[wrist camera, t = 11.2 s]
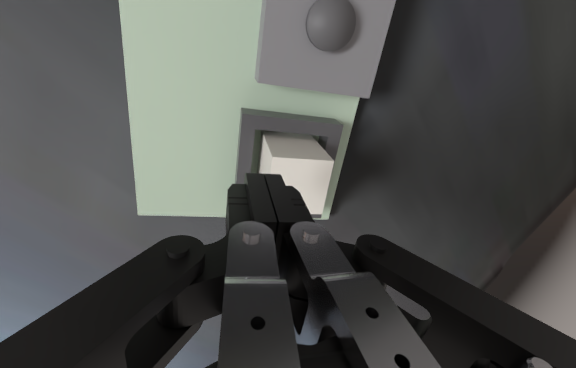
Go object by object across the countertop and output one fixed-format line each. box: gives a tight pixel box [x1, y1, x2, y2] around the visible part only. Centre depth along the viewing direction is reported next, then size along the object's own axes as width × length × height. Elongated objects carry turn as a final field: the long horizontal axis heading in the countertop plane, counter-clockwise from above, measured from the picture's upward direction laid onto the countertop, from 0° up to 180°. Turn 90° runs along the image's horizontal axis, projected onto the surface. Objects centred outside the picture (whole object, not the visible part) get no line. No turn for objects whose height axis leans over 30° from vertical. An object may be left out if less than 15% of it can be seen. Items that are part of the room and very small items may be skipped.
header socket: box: [235, 108, 344, 218], centre depth 23 cm, size 8×8×2 cm
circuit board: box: [119, 0, 396, 219], centre depth 20 cm, size 20×17×4 cm
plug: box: [257, 130, 334, 214], centre depth 21 cm, size 5×4×6 cm
